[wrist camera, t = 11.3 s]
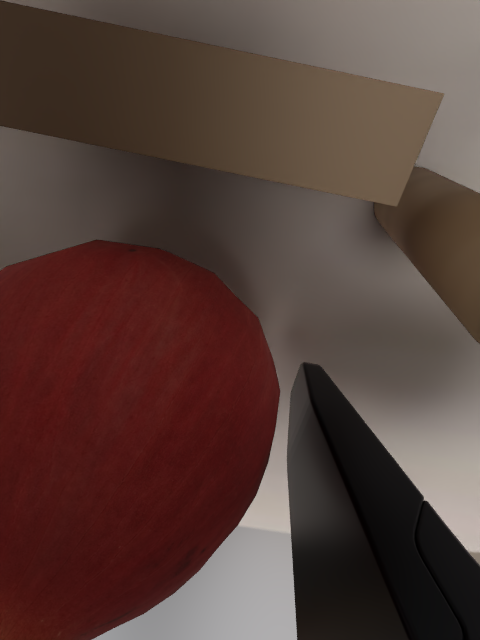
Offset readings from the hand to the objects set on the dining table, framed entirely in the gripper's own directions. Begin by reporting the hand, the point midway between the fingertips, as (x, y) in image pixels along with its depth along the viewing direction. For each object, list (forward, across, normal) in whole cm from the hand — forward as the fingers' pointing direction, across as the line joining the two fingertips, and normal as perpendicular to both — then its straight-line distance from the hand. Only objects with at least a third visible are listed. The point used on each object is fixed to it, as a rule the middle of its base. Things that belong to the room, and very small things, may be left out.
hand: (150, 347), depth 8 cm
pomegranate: (+2, 0, 0) cm, 2 cm away
